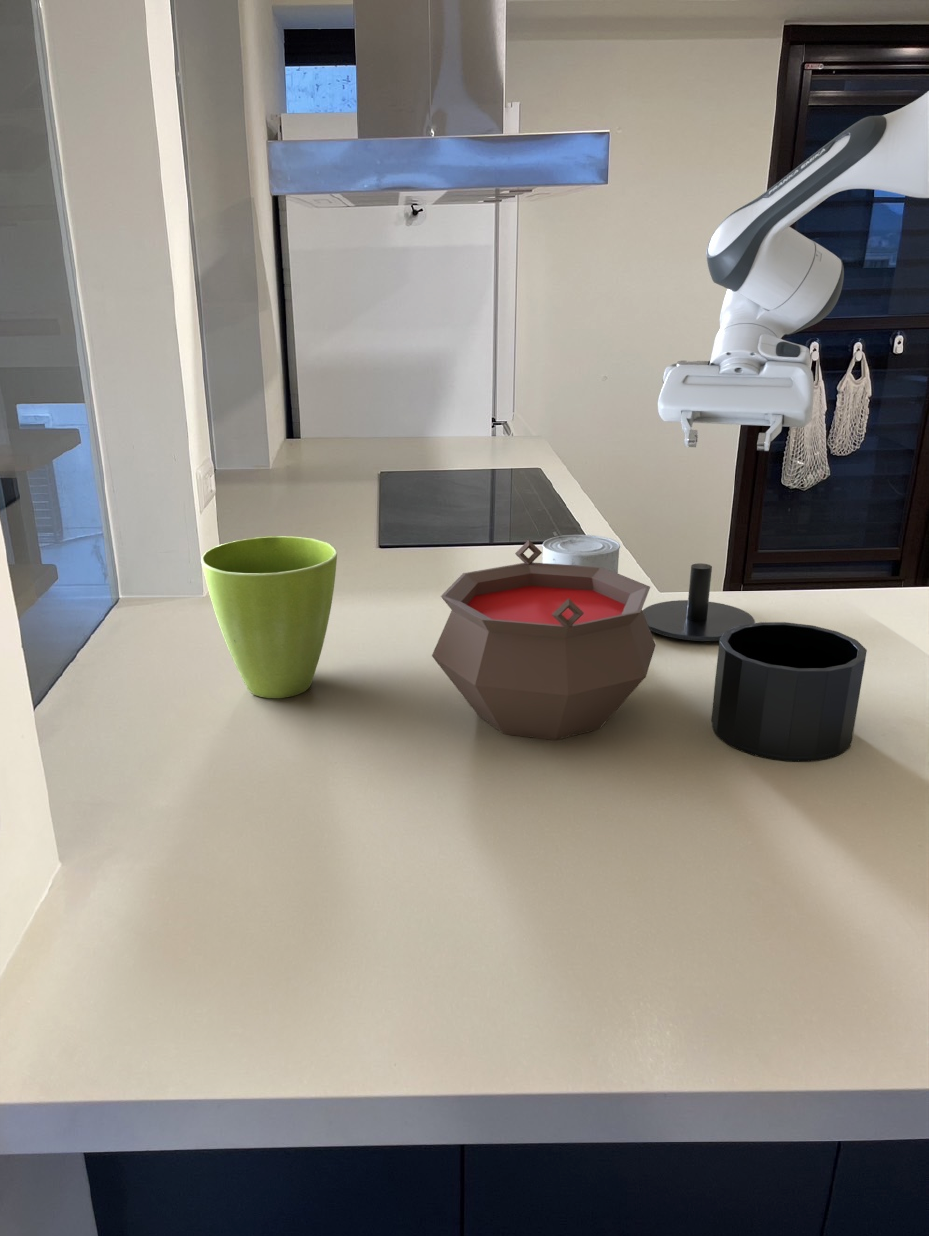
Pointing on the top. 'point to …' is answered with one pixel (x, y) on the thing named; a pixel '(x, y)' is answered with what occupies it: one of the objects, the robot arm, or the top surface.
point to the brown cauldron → (545, 645)
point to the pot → (787, 690)
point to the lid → (695, 612)
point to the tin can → (582, 551)
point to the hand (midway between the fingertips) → (725, 446)
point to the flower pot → (273, 608)
